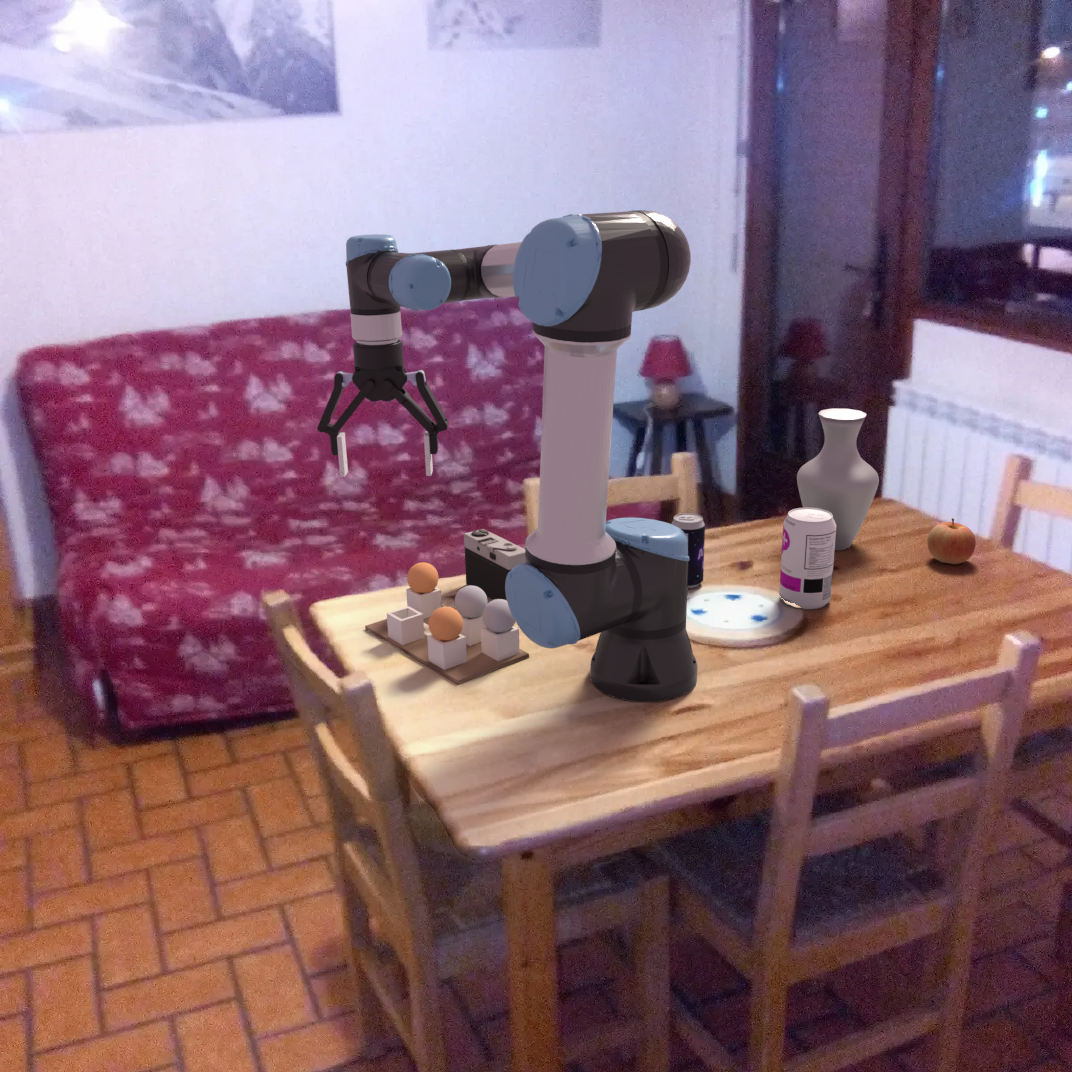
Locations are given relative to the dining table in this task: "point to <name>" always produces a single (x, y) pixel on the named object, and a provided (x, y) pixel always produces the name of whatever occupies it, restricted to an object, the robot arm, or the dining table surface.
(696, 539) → the beverage can
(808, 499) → the vase
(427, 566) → the orange ball
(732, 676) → the dining table surface
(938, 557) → the apple
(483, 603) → the grey ball
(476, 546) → the camera
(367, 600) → the dining table surface
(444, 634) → the orange ball
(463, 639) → the tubes
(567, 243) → the robot arm
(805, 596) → the supplement can
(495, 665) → the rack board
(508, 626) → the grey ball
